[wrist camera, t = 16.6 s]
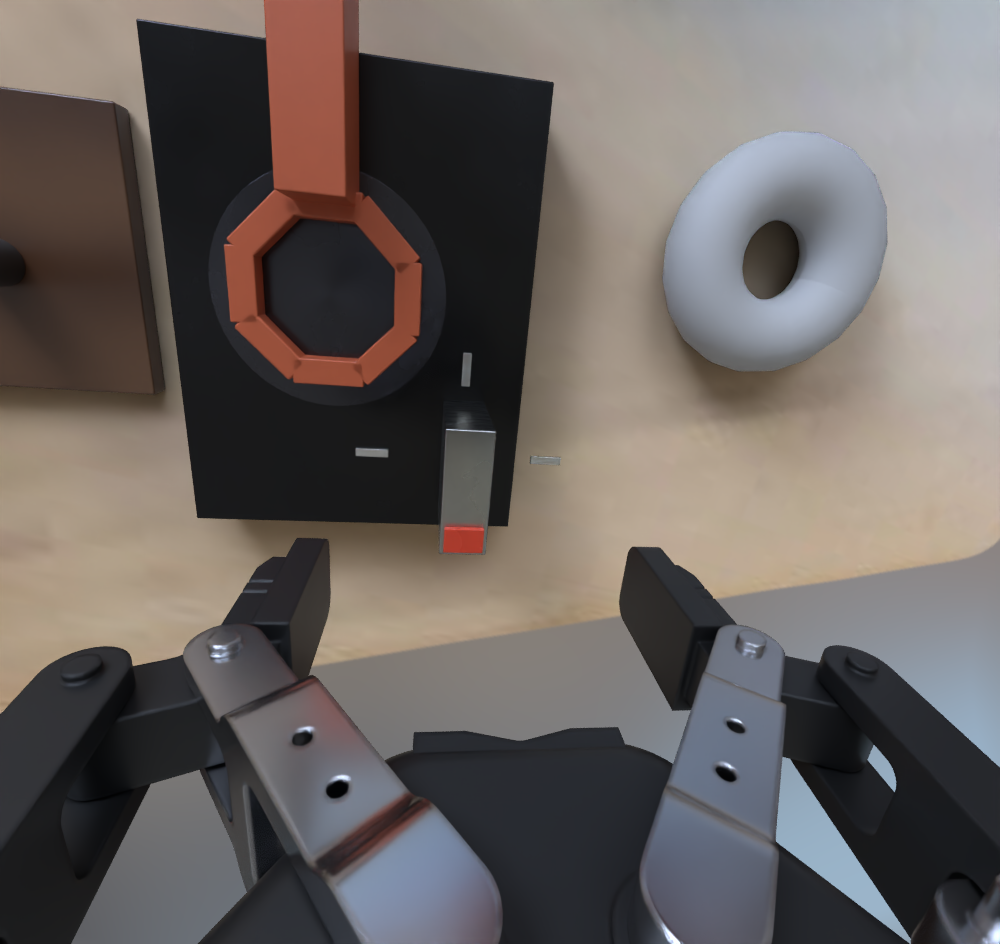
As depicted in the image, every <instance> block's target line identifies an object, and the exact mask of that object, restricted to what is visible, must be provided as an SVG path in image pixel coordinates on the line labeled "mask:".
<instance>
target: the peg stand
mask: <svg viewBox="0 0 1000 944" xmlns="http://www.w3.org/2000/svg"><path fill="white" fill-rule="evenodd" d="M0 386H15V387H32V388H49V389H67V390H84V391H101V392H118V393H135V394H153V395H154V394H157V393H159V392H162V391H164V390H165V386H164V379H163V371H162V364H161V356H160V349H159V341H158V334H157V326H156V319H155V311H154V304H153V296H152V289H151V281H150V274H149V266H148V259H147V251H146V244H145V236H144V229H143V221H142V214H141V206H140V199H139V192H138V184H137V177H136V169H135V162H134V154H133V147H132V139H131V132H130V124H129V117H128V111H127V109H125V108H124V107H122V106H120V105H118V104H116V103H114V102H113V101H106V100H98V99H90V98H83V97H75V96H67V95H60V94H52V93H44V92H37V91H29V90H21V89H14V88H6V87H0Z"/></svg>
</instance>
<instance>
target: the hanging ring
mask: <svg viewBox="0 0 1000 944" xmlns="http://www.w3.org/2000/svg"><path fill="white" fill-rule="evenodd" d="M264 11H265V30H266V48H267V67H268V85H269V104H270V123H271V141H272V160H273V178H274V190H273V192H272V193H271V194H270V195H269V196H268V197H267V198H266V199H265V200H264V201H263V202H262V203H261V204H260V205H259V206H258V207H257V208H256V209H255V210H254V211H253V212H252V213H251V214H250V215H249V216H248V217H247V218H246V219H245V220H244V221H243V222H242V223H241V224H240V225H239V226H238V227H237V228H236V229H235V230H234V231H233V232H232V233H231V234H230V235H229V236H228V237H227V240H228V242H229V243H230V244H224V251H225V262H226V274H227V286H228V297H229V309H230V320H231V322H236V323H237V324H236V325H235V329H236V330H237V331H238V332H239V333H240V334H241V335H242V336H243V337H245V338H246V339H247V340H248V341H249V342H250V343H251V344H252V345H253V346H254V347H255V348H256V349H257V350H258V351H259V352H260V353H261V354H262V355H263V356H264V357H265V358H266V359H267V360H268V361H269V362H270V363H271V364H272V365H273V366H274V367H275V368H277V369H278V370H279V371H280V372H281V373H282V374H283V375H284V376H285V377H286V378H287V379H292V378H293V382H294V383H302V384H318V385H334V386H350V387H363V386H364V385H365V383H366V384H367V385H369V384H371V383H372V382H373V381H374V380H375V379H376V378H377V377H378V376H379V375H381V374H382V373H383V372H384V371H385V370H386V369H387V368H388V367H389V366H390V365H392V364H393V363H394V362H395V361H396V360H397V359H398V358H399V357H400V356H402V355H403V354H404V353H405V352H406V351H407V350H408V349H409V348H410V347H411V346H413V345H414V344H415V343H416V342H417V337H418V336H419V335H420V324H421V295H422V266H423V265H422V264H421V263H417V262H418V261H419V260H420V257H419V256H418V255H417V253H416V252H415V251H414V250H413V249H412V247H411V246H410V245H409V244H408V242H407V241H406V240H405V239H404V238H403V236H402V235H401V234H400V233H399V232H398V230H397V229H396V228H395V227H394V226H393V224H392V223H391V222H390V221H389V220H388V218H387V217H386V216H385V215H384V214H383V212H382V211H381V210H380V209H379V207H378V206H377V205H376V204H375V203H374V201H373V200H372V199H371V198H370V197H369V196H367V197H365V196H364V194H363V193H361V192H359V0H264ZM300 218H301V219H311V220H320V221H329V222H339V223H348V224H356V225H357V226H358V227H359V228H360V229H361V231H362V232H363V233H364V234H365V235H366V236H367V238H368V239H369V240H370V241H371V242H372V243H373V245H374V246H375V247H376V248H377V249H378V250H379V252H380V253H381V254H382V255H383V256H384V257H385V259H386V260H387V261H388V262H389V263H390V264H391V266H392V267H393V268H394V269H395V292H394V326H393V327H392V328H391V329H390V330H389V331H388V332H387V333H386V334H385V335H383V336H382V337H381V338H380V339H379V340H378V341H377V342H376V343H375V344H374V345H373V346H372V347H370V348H369V349H368V350H367V351H366V352H365V353H364V354H363V355H362V356H361V357H360V358H345V357H330V356H316V355H305V354H304V353H303V352H302V351H301V350H300V349H299V348H298V347H297V346H296V345H295V344H294V343H293V342H292V341H291V340H290V339H289V338H288V337H287V336H286V335H285V334H284V333H283V332H282V331H281V330H280V329H279V328H278V327H277V326H276V325H275V324H274V323H273V322H272V321H271V320H270V319H269V318H268V317H267V316H266V315H265V300H264V285H263V269H262V256H263V255H264V254H265V253H266V252H267V251H268V250H269V249H270V248H271V247H272V246H273V245H274V244H275V243H276V242H277V241H278V240H279V239H280V238H281V237H282V236H283V235H284V234H285V233H286V232H287V231H288V230H289V229H290V228H291V227H292V226H293V225H294V224H295V223H296V222H297V221H298V220H299V219H300ZM416 336H417V337H416Z"/></svg>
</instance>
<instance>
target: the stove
mask: <svg viewBox="0 0 1000 944" xmlns="http://www.w3.org/2000/svg"><path fill="white" fill-rule="evenodd" d="M136 21H137V29H138V37H139V45H140V54H141V62H142V70H143V78H144V86H145V94H146V103H147V111H148V119H149V127H150V135H151V143H152V152H153V160H154V168H155V176H156V184H157V192H158V201H159V209H160V217H161V225H162V233H163V241H164V250H165V258H166V266H167V274H168V282H169V290H170V298H171V307H172V315H173V323H174V331H175V339H176V347H177V356H178V364H179V372H180V380H181V388H182V396H183V405H184V413H185V421H186V429H187V437H188V445H189V454H190V462H191V470H192V478H193V486H194V494H195V503H196V511H197V518H215V519H252V520H289V521H325V522H362V523H399V524H436V525H438V499H439V479H440V460H441V441H442V422H443V403H444V401H454V402H470V403H484V404H485V406H486V408H487V411H488V413H489V416H490V418H491V421H492V423H493V426H494V428H495V431H496V439H495V451H494V462H493V473H492V484H491V496H490V507H489V518H488V526H508V520H509V510H510V501H511V491H512V481H513V472H514V462H515V452H516V443H517V433H518V424H519V414H520V404H521V395H522V385H523V375H524V366H525V356H526V347H527V337H528V327H529V318H530V308H531V298H532V289H533V279H534V270H535V260H536V250H537V241H538V231H539V221H540V212H541V202H542V193H543V183H544V173H545V164H546V154H547V144H548V135H549V125H550V116H551V106H552V96H553V87H554V83H553V82H548V81H542V80H535V79H529V78H522V77H516V76H509V75H502V74H496V73H489V72H483V71H476V70H470V69H463V68H456V67H450V66H443V65H437V64H430V63H424V62H417V61H411V60H404V59H397V58H391V57H384V56H378V55H371V54H365V53H359V171H360V172H363V173H365V174H367V175H369V176H371V177H373V178H375V179H377V180H378V181H380V182H381V183H383V184H384V185H386V186H387V187H389V188H390V189H392V190H393V191H394V192H395V193H396V194H397V195H399V196H400V197H401V198H402V199H403V200H404V201H405V202H406V203H407V204H408V205H409V206H410V207H411V208H412V209H413V211H414V212H415V213H416V214H417V215H418V217H419V218H420V220H421V221H422V223H423V224H424V225H425V227H426V229H427V230H428V232H429V234H430V236H431V238H432V240H433V241H434V244H435V246H436V249H437V251H438V254H439V256H440V260H441V264H442V268H443V271H444V277H445V285H446V309H445V318H444V322H443V327H442V331H441V334H440V337H439V339H438V342H437V344H436V347H435V348H434V350H433V352H432V354H431V356H430V358H429V359H428V360H427V362H426V363H425V365H424V366H423V367H422V369H421V370H420V371H419V372H418V373H417V374H416V375H415V376H414V377H413V378H412V379H411V380H410V381H409V382H407V383H406V384H405V385H403V386H402V387H401V388H399V389H398V390H396V391H394V392H393V393H391V394H389V395H387V396H385V397H382V398H380V399H377V400H375V401H371V402H367V403H363V404H357V405H349V406H332V405H323V404H317V403H313V402H309V401H305V400H302V399H299V398H297V397H294V396H291V395H289V394H287V393H285V392H283V391H281V390H280V389H278V388H276V387H274V386H273V385H271V384H270V383H268V382H267V381H265V380H264V379H263V378H262V377H260V376H259V375H258V374H257V373H256V372H254V371H253V370H252V369H251V368H250V367H249V366H248V365H247V364H246V363H245V361H244V360H243V359H242V358H241V357H240V356H239V355H238V353H237V352H236V350H235V349H234V348H233V346H232V345H231V344H230V342H229V340H228V338H227V337H226V335H225V333H224V332H223V330H222V327H221V325H220V323H219V320H218V318H217V316H216V313H215V309H214V306H213V303H212V299H211V293H210V287H209V272H208V265H209V255H210V248H211V244H212V240H213V236H214V233H215V231H216V228H217V226H218V223H219V221H220V219H221V217H222V215H223V214H224V212H225V210H226V209H227V207H228V205H229V204H230V203H231V202H232V201H233V199H234V198H235V197H236V196H237V195H238V193H240V192H241V191H242V190H243V189H244V188H245V187H246V186H248V185H249V184H250V183H251V182H253V181H254V180H256V179H258V178H259V177H261V176H262V175H264V174H266V173H268V172H271V171H273V160H272V141H271V123H270V104H269V85H268V67H267V48H266V38H260V37H253V36H247V35H240V34H234V33H227V32H220V31H214V30H207V29H201V28H194V27H188V26H181V25H174V24H168V23H161V22H155V21H148V20H142V19H137V20H136ZM560 460H561V458H560V457H551V456H530V464H546V465H560Z"/></svg>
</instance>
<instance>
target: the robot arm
mask: <svg viewBox="0 0 1000 944" xmlns="http://www.w3.org/2000/svg"><path fill="white" fill-rule="evenodd" d="M330 594H331V591H330V554H329V542H328V539H320V538H297V539H296V540H295V542H294V543H293V545H292V547H291V549H290V551H289V553H288V554H287V556H286V557H272V558H271V559H269V560H268V561H266V562H265V563H263V564H262V565H260V566H259V567H257V569H256V570H255V572H254V574H253V575H252V577H251V578H250V580H249V583H247V585H246V586H245V588H244V589H243V593H241V594H240V596H239V597H238V599H237V601H236V602H235V604H234V605H233V607H232V609H231V610H230V612H229V613H228V615H227V617H226V618H225V620H224V621H223V623H222V625H220V626H216V627H213V628H211V629H208V630H206V631H204V632H202V633H200V634H199V635H197V636H195V637H194V638H193V639H192V640H191V641H190V642H189V643H188V644H187V645H186V647H185V649H184V652H183V655H181V656H178V657H175V658H171V659H167V660H162V661H157V662H152V663H147V664H142V665H137V666H133V665H132V659H131V656H130V654H129V653H128V652H127V651H125V650H124V649H121V648H118V647H108V646H104V647H94V648H88V649H84V650H80V651H77V652H74V653H71V654H69V655H67V656H64V657H62V658H60V659H58V660H56V661H54V662H53V663H51V664H49V665H48V666H47V667H45V668H44V669H43V670H41V671H40V672H39V673H38V674H37V675H36V676H35V677H34V679H33V680H32V681H31V682H30V683H29V684H28V685H27V686H26V687H25V688H24V689H23V690H22V692H21V693H20V694H19V695H18V696H17V697H16V698H15V699H14V700H13V701H12V702H11V703H10V705H9V706H8V707H7V708H6V709H5V710H4V711H3V712H2V713H1V714H0V944H71V943H72V940H73V939H74V937H75V935H76V933H77V931H78V929H79V927H80V925H81V923H82V921H83V919H84V917H85V915H86V913H87V911H88V909H89V907H90V905H91V902H92V900H93V899H94V896H95V895H96V893H97V891H98V889H99V886H100V885H101V883H102V881H103V878H104V877H105V875H106V873H107V870H108V869H109V867H110V864H111V863H112V860H113V858H114V856H115V854H116V853H117V851H118V849H119V846H120V844H121V842H122V840H123V838H124V836H125V834H126V832H127V830H128V828H129V826H130V824H131V822H132V820H133V818H134V816H135V814H136V812H137V810H138V808H139V806H140V804H141V802H142V800H143V798H144V796H145V794H146V792H147V790H148V788H149V786H150V784H151V783H155V782H158V781H162V780H165V779H169V778H172V777H175V776H179V775H183V774H186V773H189V772H193V771H196V770H200V772H201V775H202V777H203V779H204V781H205V784H206V786H207V788H208V790H209V793H210V795H211V797H212V799H213V801H214V803H215V806H216V808H217V810H218V813H219V815H220V817H221V819H222V822H223V824H224V826H225V828H226V830H227V833H228V835H229V837H230V839H231V842H232V844H233V847H234V850H235V853H236V857H237V861H238V865H239V869H240V873H241V876H242V879H243V882H244V885H245V888H246V891H247V893H246V894H245V895H244V896H243V897H242V898H241V899H240V901H238V902H237V904H236V905H235V906H234V907H233V908H232V909H231V910H230V911H229V912H228V913H227V914H226V915H225V916H224V917H223V918H222V919H221V920H220V921H219V922H218V923H217V924H216V925H215V926H214V927H213V928H212V929H211V931H210V932H209V933H208V934H207V935H206V936H205V937H204V938H203V939H202V940H201V941H200V942H199V943H198V944H909V943H908V942H907V941H905V940H904V939H903V938H901V937H900V936H899V935H897V934H896V933H895V932H894V931H892V930H891V929H890V928H888V927H887V926H886V925H884V924H883V923H882V922H880V921H879V920H878V919H876V918H875V917H874V916H873V915H871V914H870V913H868V912H867V911H866V910H865V909H863V908H862V907H861V906H859V905H858V904H857V903H855V902H854V901H853V900H851V899H850V898H849V897H848V896H846V895H845V894H844V893H842V892H841V891H840V890H838V889H837V888H836V887H834V886H833V885H832V884H831V883H829V882H828V881H827V880H825V879H824V878H822V877H821V876H820V875H819V874H817V873H816V872H815V871H814V870H812V869H811V868H810V867H808V866H807V865H806V864H804V863H803V862H802V861H800V860H799V859H798V858H796V857H795V856H794V855H793V854H791V853H790V852H788V851H787V850H786V849H785V848H783V847H782V846H780V845H779V844H778V843H777V842H776V826H777V814H778V802H779V790H780V779H781V766H782V757H786V758H790V759H791V761H792V762H793V764H794V766H795V767H796V769H797V770H798V772H799V773H800V775H801V776H802V777H803V779H804V781H805V782H806V783H807V785H808V786H809V788H810V789H811V791H812V792H813V794H814V795H815V797H816V798H817V800H818V801H819V802H820V804H821V806H822V807H823V809H824V810H825V812H826V813H827V815H828V816H829V818H830V819H831V821H832V822H833V824H834V825H835V826H836V828H837V830H838V831H839V833H840V834H841V836H842V837H843V839H844V840H845V841H846V843H847V844H848V846H849V847H850V849H851V850H852V852H853V853H854V855H855V856H856V858H857V859H858V861H859V862H860V864H861V865H862V867H863V868H864V870H865V871H866V873H867V874H868V876H869V877H870V879H871V880H872V881H873V883H874V885H875V886H876V888H877V889H878V891H879V892H880V893H881V895H882V896H883V898H884V900H885V901H886V903H887V904H888V906H889V907H890V908H891V910H892V912H893V913H894V914H895V916H896V918H897V919H898V921H899V922H900V924H901V925H902V926H903V928H904V929H905V931H906V932H907V934H908V935H909V937H910V938H911V944H1000V767H999V766H997V765H996V764H995V763H994V762H993V761H991V759H990V758H989V757H988V756H987V755H985V754H984V753H983V752H982V751H981V750H980V749H979V748H978V747H977V746H976V745H975V744H973V743H972V742H971V741H970V740H969V739H968V738H967V737H966V736H964V734H963V733H961V732H960V731H959V730H958V729H957V728H956V727H955V726H954V725H952V724H951V723H950V722H949V721H948V720H947V719H946V718H945V717H944V716H943V715H942V714H941V713H940V712H938V711H937V710H936V709H935V708H934V707H933V706H932V705H931V704H930V703H929V702H928V701H926V700H925V699H924V698H923V697H922V696H921V695H920V694H919V693H918V692H916V691H915V690H914V689H913V688H912V687H911V686H910V685H909V684H908V683H907V682H906V681H904V680H903V679H902V678H901V677H900V676H899V675H898V674H897V673H896V672H895V671H894V670H893V669H891V668H890V667H889V666H888V665H887V664H885V663H884V662H882V661H881V660H879V659H878V658H876V657H874V656H872V655H870V654H868V653H866V652H864V651H861V650H858V649H855V648H851V647H847V646H839V645H838V646H837V645H836V646H829V647H827V648H826V649H825V650H824V652H823V654H822V657H821V660H820V663H816V662H811V661H807V660H802V659H797V658H793V657H788V656H785V652H784V650H783V648H782V647H781V645H780V644H779V643H778V642H777V641H776V640H774V639H773V638H772V637H770V636H769V635H767V634H765V633H763V632H761V631H759V630H756V629H754V628H751V627H748V626H743V625H737V624H736V623H735V621H734V620H733V619H732V618H731V617H730V616H729V615H728V614H727V612H726V611H725V610H724V609H723V608H722V607H721V606H720V604H719V603H718V602H717V601H716V600H715V599H713V596H712V595H711V594H710V593H709V592H708V591H707V589H704V586H703V585H702V584H701V582H700V581H699V580H698V579H697V578H696V577H695V576H694V575H693V574H691V573H690V572H688V571H687V570H685V569H683V568H682V567H680V566H679V565H674V563H673V562H672V561H671V560H670V559H669V557H668V556H667V555H666V554H665V553H664V551H663V550H662V549H661V548H659V547H632V548H631V549H630V550H629V552H628V556H627V561H626V566H625V571H624V576H623V582H622V587H621V592H620V599H619V605H620V613H621V616H622V619H623V621H624V623H625V625H626V626H627V628H628V630H629V632H630V634H631V636H632V637H633V639H634V641H635V643H636V645H637V647H638V648H639V650H640V652H641V654H642V656H643V658H644V659H645V661H646V663H647V665H648V666H649V668H650V670H651V672H652V674H653V675H654V677H655V679H656V681H657V683H658V685H659V687H660V689H661V690H662V692H663V694H664V696H665V698H666V700H667V701H668V703H669V705H670V707H671V709H672V711H673V710H691V711H690V715H689V717H688V720H687V724H686V727H685V730H684V733H683V736H682V739H681V742H680V745H679V748H678V751H677V754H676V757H675V760H674V764H672V763H670V762H669V761H667V760H665V759H664V758H661V757H660V756H658V755H655V754H654V753H651V752H649V751H646V750H643V749H641V748H637V747H634V746H631V745H625V743H624V740H623V738H622V736H621V733H620V731H619V728H618V727H610V728H609V727H608V728H570V729H566V730H562V731H559V732H555V733H551V734H547V735H544V736H540V737H536V738H532V739H528V740H524V741H516V740H510V739H505V738H500V737H495V736H489V735H484V734H479V733H473V732H468V731H450V732H414V739H413V750H411V751H407V752H404V753H401V754H398V755H396V756H393V757H391V758H389V759H387V760H385V761H384V759H383V758H382V757H381V756H380V755H379V753H378V752H377V751H376V750H375V748H374V747H373V746H372V745H371V743H370V742H369V741H368V740H367V738H366V737H365V736H364V735H363V734H362V732H361V731H360V730H359V729H358V727H357V726H356V725H355V724H354V723H353V721H352V720H351V719H350V717H349V716H348V715H347V714H346V713H345V711H344V710H343V709H342V708H341V706H340V705H339V704H338V703H337V701H336V700H335V699H334V698H333V696H332V695H331V694H330V693H329V692H328V690H327V689H326V688H325V687H324V685H323V684H322V683H321V682H320V681H319V679H318V678H316V677H315V676H313V675H310V676H308V675H309V672H310V669H311V666H312V663H313V660H314V657H315V654H316V651H317V648H318V645H319V642H320V639H321V636H322V633H323V629H324V626H325V623H326V620H327V617H328V613H329V607H330ZM873 745H875V746H876V747H877V748H878V749H879V751H880V752H881V753H882V754H883V755H884V756H885V758H886V759H887V760H888V761H889V763H890V764H891V766H892V768H893V770H894V773H895V777H896V790H895V793H894V791H893V790H892V789H891V788H890V787H889V786H888V784H887V783H886V782H885V781H884V779H883V778H882V777H881V776H880V775H879V773H878V772H877V771H876V770H875V769H874V767H873V766H872V765H871V764H870V763H869V762H868V760H867V759H868V757H869V754H870V751H871V750H872V748H873Z"/></svg>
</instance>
